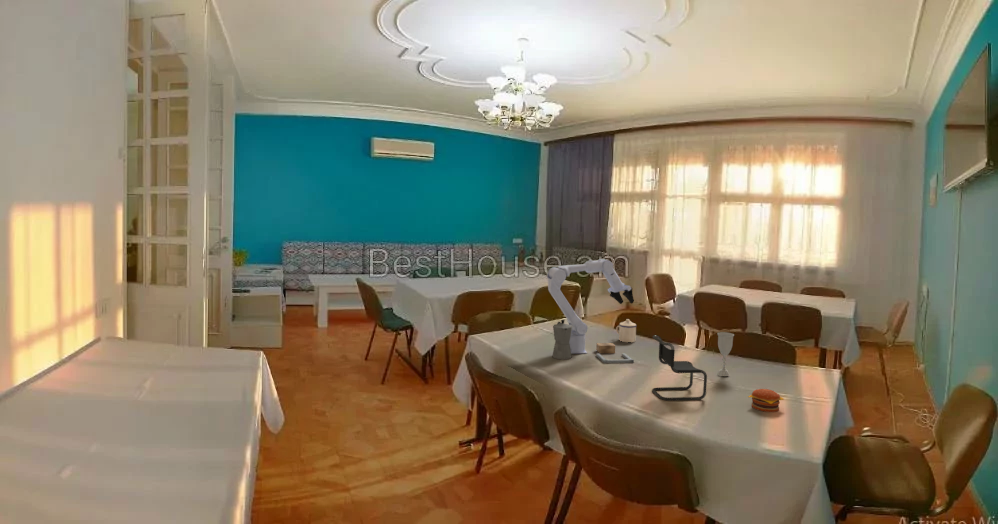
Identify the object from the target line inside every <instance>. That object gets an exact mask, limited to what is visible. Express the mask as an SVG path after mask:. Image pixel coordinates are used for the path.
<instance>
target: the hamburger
mask: <svg viewBox="0 0 998 524" xmlns="http://www.w3.org/2000/svg"><path fill="white" fill-rule="evenodd" d="M747 398H751V399H752V402H751V407H752V408H754V409H756V410H757V411H762V412H766V413H774V412H778V411H780V406H779V405H780V401H784V400H785V398H783V397H782V396H781V394H779V393H777V392H776V391H774V390H771V389H767V388H759V389H758V388H757V389H755V390H753V391H752V393H751V395H749V396H747Z"/></svg>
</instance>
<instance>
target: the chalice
mask: <svg viewBox="0 0 998 524" xmlns="http://www.w3.org/2000/svg"><path fill="white" fill-rule="evenodd" d="M717 336H718V337H717V346H718V349H719V352H720V354H721V355H722V356H723V358H722V363H721V365H722V367H721V368H720V369H719V370H718V373H717V374H718V375H720V376H719V377H721V376H729V375H730V373H729V371H728V369H727V368H726V366H727V364H726V361H727V359H726V357H727V356H729V354H730V352H731V351H732V348H733V345H734V344H733V342H734V336H735V334H734V333H731V332H727V331H725V332H724V331H721V332H717ZM718 375H717V376H718ZM729 377H730V376H729Z"/></svg>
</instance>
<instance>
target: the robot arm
mask: <svg viewBox="0 0 998 524" xmlns="http://www.w3.org/2000/svg"><path fill="white" fill-rule="evenodd" d="M578 272H579V273H580V272H586V273H587V274H590V273H602V274H603V276H604V278H605V280H606V281H607V282H608V284H609V286H610V287H609V288H607V291H608V293H610V294H609V296H610V297H611V298H612V299H614V300H615V301H617V302H618V303H619V305H622V304H623V303H624V300H623V298H622V296H624V297H625V298H627V301H628V302H629V303H630V304H633V303H634V302H635V299H634V295H633V287H632V286H631V285H627V284H625V282H622V280H621V278H620V276H619V275H618V273H617V272H616V270H615V269H614V264H613V262H612V261H611V260H609V259H605V258H599V259H598V260H596V259H595V260H592V259H588V260H586V261H585V262H584V263H583V264H582V263H581V264H579V263H578V264H567V265H566V264H564V265H559V266H553V267H551V268H549V269H548V271H547V275H546V279H547V290H548V292H549V294H550V295H551V297H552V298H553V299H554V301H555V302H556V304H557V306H558V307H559V309H560V311H561V312H562V314H563V315H564V316H565V318H566V321H567V324H568V325H571V326H572V331H571V337H570V340H569V344H570V349H571V355H573V354H574V355H575V354H588V352H587V350H586V333H587V331H588V329H589V327H588V325H587V323H585V322H583V320H582V319H581V318H580V317H579V316H578V315H577V314H576V312H575V311H574V308H573V307H572V306H571V304H570V303H569V301H568V300H567V297H565V295H564V294H563V292H562V290H561V287H562V285H563V283H564V282H565V281H566V279H567V277H569V276H570V275H571V274H572V273H578ZM620 292H623V293H622V295H621V294H620Z"/></svg>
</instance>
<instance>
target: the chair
mask: <svg viewBox="0 0 998 524" xmlns="http://www.w3.org/2000/svg"><path fill="white" fill-rule="evenodd" d="M652 339H653V340H655V341H657V342H658V344H659V345H658V360H659V362H660V363H661V364H663V365H667V366H668V367H669V368H670V369H671V371H672V372H674V373H677V374H689V384H688V386H678V387H677V386H676V387H675V386H674V387H673V386H672V387H671V386H670V387H654V388H652V389H651V391H652V393H653V394H654V395H655V396H656V397H658V398H659V399H660V400H663V401H670V402H671V401H672V400H673V401H700V400H704V398H705V397H706V395H707V386H708V385H707V383H708V376H707V375H708V374H707V372H706V371H705V370H703V369H699V368H697V367H695V366H694V365H693V363H692V362H691V361H690V360H689V361H688V360H675V353H676V352H675V346H674V345H673V344H672V343H671V342H665V341H664V340H663V339H662V338H661V336H659V335H652ZM668 347H670V348H668ZM700 373H701V374H703V390H702V394H701V395H700V396H687V397H686V396H685V397H684V396H683V397H682V396H680V397H666V396H662V395H661V394H659V393H658V392H657V391H687V390H690V389H691V388H692V386H693V380H694V374H700ZM673 401H672V402H673Z"/></svg>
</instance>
